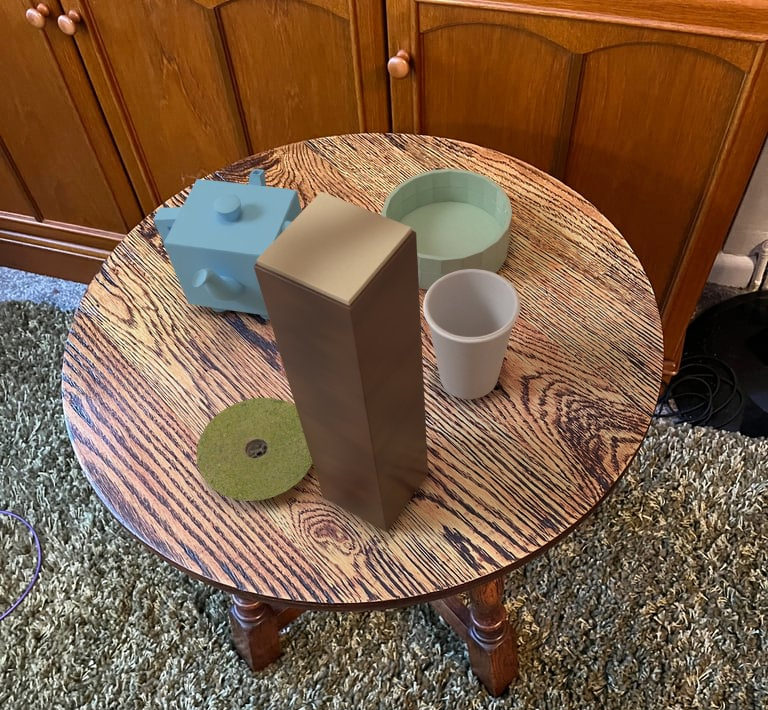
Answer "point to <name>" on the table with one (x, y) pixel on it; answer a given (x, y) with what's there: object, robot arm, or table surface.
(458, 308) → the dixie cup
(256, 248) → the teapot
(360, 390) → the stand
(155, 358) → the table surface
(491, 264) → the bowl
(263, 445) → the mat
